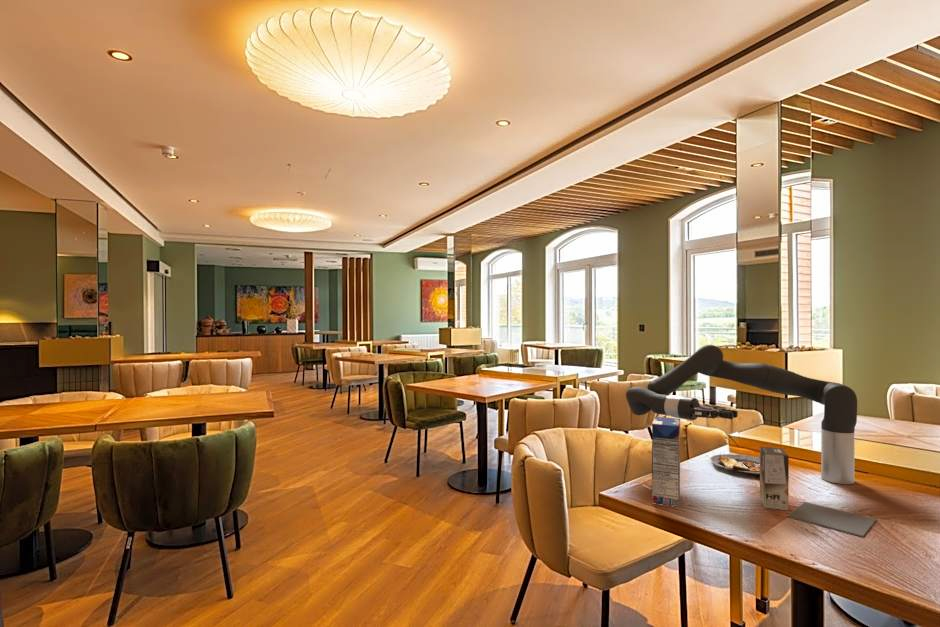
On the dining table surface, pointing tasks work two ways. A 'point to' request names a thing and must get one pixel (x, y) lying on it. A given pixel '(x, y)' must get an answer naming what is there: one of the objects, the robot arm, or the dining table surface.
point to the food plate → (732, 463)
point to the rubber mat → (833, 518)
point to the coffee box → (774, 478)
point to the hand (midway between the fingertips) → (734, 415)
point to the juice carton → (666, 461)
